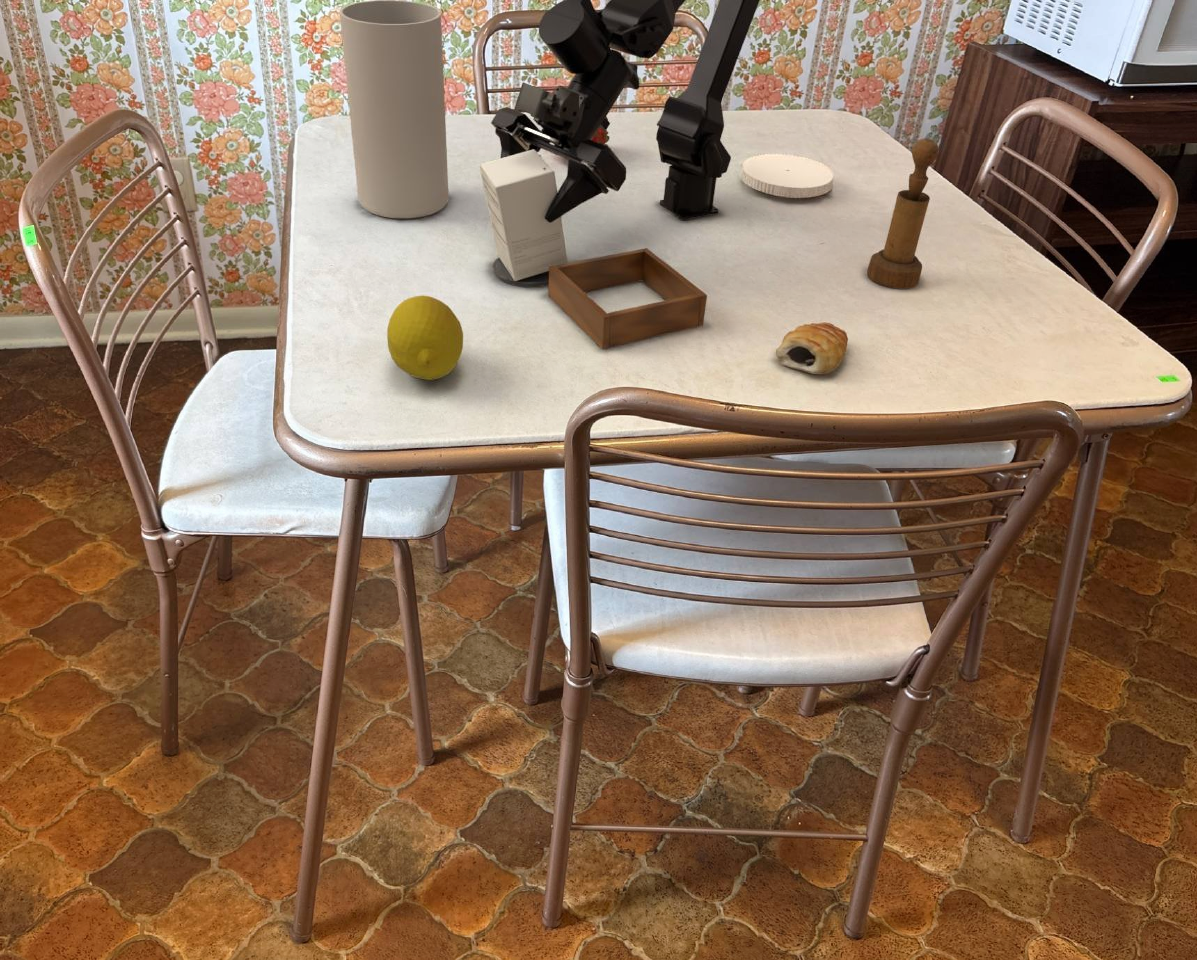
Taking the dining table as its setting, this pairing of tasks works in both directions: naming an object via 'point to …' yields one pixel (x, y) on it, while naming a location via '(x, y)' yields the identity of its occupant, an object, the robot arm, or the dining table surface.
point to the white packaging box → (523, 213)
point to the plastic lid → (787, 175)
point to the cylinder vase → (396, 106)
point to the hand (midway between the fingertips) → (520, 208)
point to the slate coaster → (530, 281)
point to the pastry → (813, 348)
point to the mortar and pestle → (905, 226)
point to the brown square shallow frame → (632, 323)
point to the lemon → (425, 337)
